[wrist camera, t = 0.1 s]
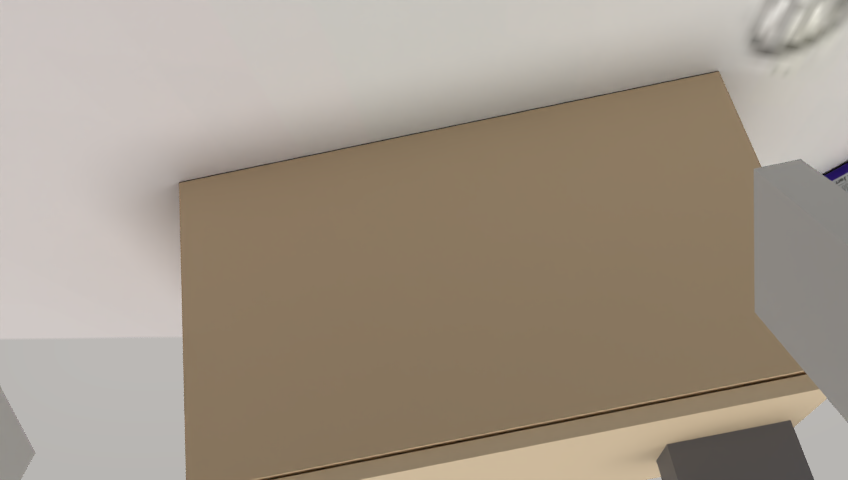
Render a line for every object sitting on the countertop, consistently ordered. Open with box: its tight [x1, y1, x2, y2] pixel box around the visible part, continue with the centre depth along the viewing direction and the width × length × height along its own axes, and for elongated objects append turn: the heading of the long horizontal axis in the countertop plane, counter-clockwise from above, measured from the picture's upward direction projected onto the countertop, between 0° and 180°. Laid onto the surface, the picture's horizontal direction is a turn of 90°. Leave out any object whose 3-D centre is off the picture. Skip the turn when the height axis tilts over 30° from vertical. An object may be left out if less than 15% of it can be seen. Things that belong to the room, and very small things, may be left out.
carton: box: [179, 72, 806, 480], centre depth 37 cm, size 12×24×13 cm, turn 97°
